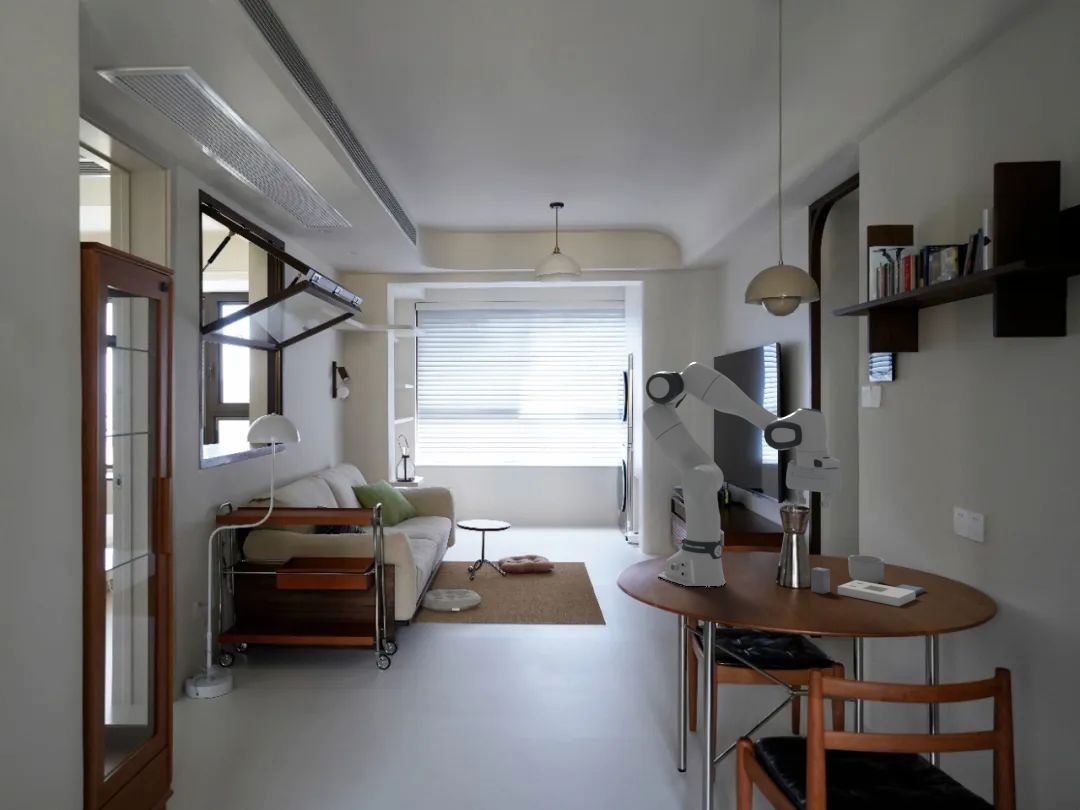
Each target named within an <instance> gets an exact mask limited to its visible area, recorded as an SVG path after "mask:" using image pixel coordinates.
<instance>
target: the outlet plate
mask: <svg viewBox="0 0 1080 810" xmlns="http://www.w3.org/2000/svg"><path fill="white" fill-rule="evenodd" d="M837 595H840V596H846V597H851V598H856V599H861V600H865V601H870V602H875V603H881V604H885V605H890V606H895V607H900V606H903V605H905V604H907V603H909V602H912V601H914V600H916V596H915V591H913V590H907V589H902V588H896V586H890V585H886V584H885V585H884V584H881V583H880V584H879V583H877V584H875V583H869V582H864V581H858V580H851V581H848V582H847V583H843V584H841V585H837Z"/></svg>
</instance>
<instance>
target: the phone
mask: <svg viewBox="0 0 1080 810" xmlns="http://www.w3.org/2000/svg"><path fill="white" fill-rule="evenodd" d="M895 587H896V588H902V589H907V590H913V591H915V597H916V596H918V595H920V594H923V593H925V592H926V588H925V587H921V586H916V585H909V584H904V583H903V584H902V583H901V584H899V585H896V586H895Z"/></svg>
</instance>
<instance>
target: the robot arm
mask: <svg viewBox="0 0 1080 810" xmlns="http://www.w3.org/2000/svg"><path fill="white" fill-rule="evenodd" d="M645 392H646V394H647V397H648V398H649V399H650V400H651V401H652V402H651V403H650V404H649V405H648V406H647V407H646V408H645V409H644V411H643V415H642V418H643V420H644V423H645V425H646V428H647V430H648V431H649V433H650V435H651V437H652V438H653V440H654V441H655V443H656V444H657V445H658V447H659V448H660V450H661V451H662V453H663V454H664V456H665V458H666V459H667V461H669V462H670V463H671V464H673V466H675V468H676V469H678V471H679V472H680V473H681V474H682V476H681V480H680V486H681V489H682V496H683V503H684V504H683V505H684V511H685V538H683V539H680V540H678V541H679V543H678V544H679V545H681V548H680V549H679V550H678V551H676V552H675V553H674V554H673V555H671V556H670V557H668V558H667V559H666V562H665V567H664V571H662V572H660V573H658V574H657V577H658V576H660V577H663V578H666V579H669V580H671V581H674V582H677V583H679V584H683V585H686V586H706V587H705V588H711V587H710V586H717V587H721V585H722V586H724V584H725V583H727V582H726V580H725V575H724V571H723V564H722V553H723V552H722V551H723V545H722V544H723V542H722V541H723V540H722V539H721V514H720V509H719V501H718V492H719V491H720V490H721V489H722V487H723V484H724V479H725V478H724V473H723V471H722V470H721V468H720V467H719V466H718V465H717V464H716V462H715V461H714V459H712V458H711V456H710V455H709V454H708V453H707V451H705V450H704V449H703V447H702V446H701V445H700V444H699V443H698V441H696V439H695V438H694V436H693V435H692V433H691V432H690V431H689V429H688V428H687V426H686V425H685V423H684V422H683V420H682V419H681V418H680V416H679V415H678V413H677V411H676V409H677V408H678V407H679V406H680V404H682V402H683V400H684V399H685V398H686V396H687V395H691V396H693V397H695V398H696V400H699V401H700V402H702V403H703V404H705V405H706V406H708V407H709V408H711V409H714V410H716V411H718V412H721V413H723V414H725V413H726V414H730V415H735V416H737V417H740V418H743V419H745V420H746V421H748V422H749V423H750V424H753V425H754V426H755V427H757V428H759V429H760V430H761V431H763V438H764V441H765V442H766V444H767V446H769V447H770V448H772V449H774V450H777V451H785V450H792V449H796V459H791V460H790V461H789V462H788V463H787V468H786V476H785V485H786V487H787V489H790V490H791V489H792V490H795V491H794V492H795V495H796V497H797V499H798V504H799V505H806V504H807V498H806V497H805V496H804V491H806V492H807V491H808V492H814V493H815V492H816V493H817V492H818V493H822V497H823V500H822V501H820V507H821V508H823V509H824V508H825V509H826V508H829V507H830V501H831V499H832V497H833V494H841V492H842V490H843V475H842V471H841V470H840V468H841V467H842V462H841V460H840V459H838V458H835V457H833V456H831V455H829V454H828V448H827V445H826V443H827V442H826V441H827V437H828V434H827V422H826V417H825V415H824V413H823V412H822V411H821V410H819V409H815V408H807V407H799V408H797V410H795V411H793V412H791V413H790V414H787V415H786V416H784V417H781V416H778V415H776V414H774V413H773V412H770V411H769V410H768V409H766V408H764V406H761V405H759V404H758V403H757V402H755V401H754V400H753V399H752V398H750V397H749V396H748V395H747V394H746V393H745V392H744V391H743V390H742V389H741V388H740V387H739V386H737V384H736V383H734V381H732V380H731V379H729V378H728V377H727V376H726V375H724V374H723V373H721V372H720V371H718V370H716V369H715V368H713V367H711V366H709V365H706V364H704V363H701V362H700V361H694V362H691V363H689V364H687V365H686V366H685V367H684V368H683V370H682V371H681V372H680V373H679V372H677V371H670V370H669V371H668V370H665V371H664V370H662V371H657V372H654V373H653V374H652V375H650V377H649V378H648V379H647V381H646V384H645ZM725 585H726V584H725ZM707 586H708V587H707Z"/></svg>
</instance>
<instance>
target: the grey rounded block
mask: <svg viewBox="0 0 1080 810" xmlns="http://www.w3.org/2000/svg"><path fill="white" fill-rule="evenodd" d="M847 560H848V562H847V563H848V572H849V573H848V574H849V577H850V578H851V579H852V581H854V580H858V581H864V582H869V583H875V584H879V583H880V582H881V581H882V580H883V579H884V575H885V559H884V558H882V557H880V556H873V555H867V554H866V555H861V554H860V555H854V554H851V555H849V556H848V558H847Z"/></svg>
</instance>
